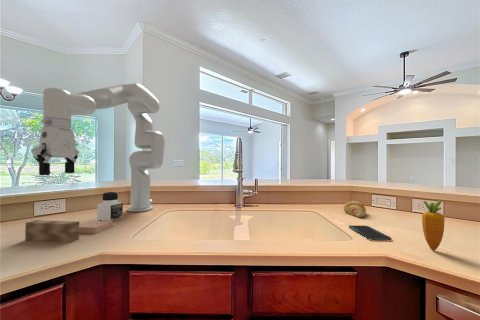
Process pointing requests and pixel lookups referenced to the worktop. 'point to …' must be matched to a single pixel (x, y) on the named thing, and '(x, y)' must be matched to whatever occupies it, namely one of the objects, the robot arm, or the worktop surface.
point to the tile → (95, 226)
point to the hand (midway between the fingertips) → (57, 174)
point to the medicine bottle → (110, 207)
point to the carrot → (433, 225)
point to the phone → (369, 233)
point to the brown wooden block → (52, 231)
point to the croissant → (355, 208)
